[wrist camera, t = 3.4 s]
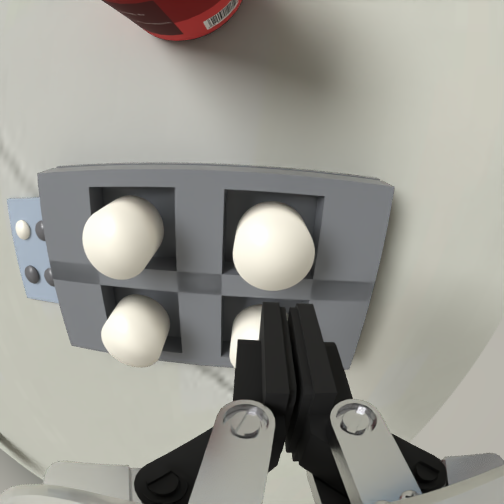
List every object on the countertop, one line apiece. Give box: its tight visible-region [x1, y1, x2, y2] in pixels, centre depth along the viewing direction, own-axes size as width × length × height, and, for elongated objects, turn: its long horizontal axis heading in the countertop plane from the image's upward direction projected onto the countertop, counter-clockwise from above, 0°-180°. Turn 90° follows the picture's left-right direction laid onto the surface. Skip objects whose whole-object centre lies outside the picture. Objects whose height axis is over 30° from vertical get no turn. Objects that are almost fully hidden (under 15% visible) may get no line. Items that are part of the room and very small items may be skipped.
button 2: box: [101, 294, 170, 367], centre depth 21 cm, size 4×4×3 cm
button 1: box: [82, 195, 164, 280], centre depth 18 cm, size 4×4×3 cm
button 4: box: [229, 304, 288, 368], centre depth 21 cm, size 4×4×3 cm
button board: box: [7, 163, 394, 370], centre depth 22 cm, size 30×15×3 cm, turn 87°
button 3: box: [233, 201, 315, 291], centre depth 18 cm, size 4×4×3 cm
